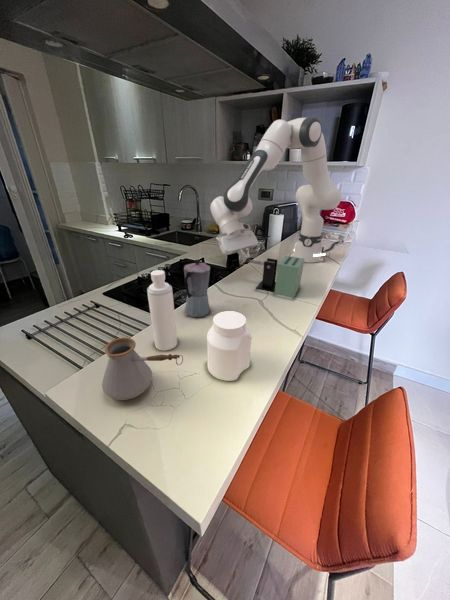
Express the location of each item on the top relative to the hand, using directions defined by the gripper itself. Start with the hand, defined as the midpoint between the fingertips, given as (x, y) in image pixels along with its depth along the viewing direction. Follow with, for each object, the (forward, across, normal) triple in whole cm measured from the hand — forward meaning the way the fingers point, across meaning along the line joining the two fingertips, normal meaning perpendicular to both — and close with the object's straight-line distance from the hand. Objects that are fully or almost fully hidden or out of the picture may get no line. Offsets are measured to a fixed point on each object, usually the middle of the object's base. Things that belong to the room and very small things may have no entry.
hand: (247, 258), depth 112 cm
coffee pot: (+27, -64, -10) cm, 71 cm away
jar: (+32, -43, -15) cm, 56 cm away
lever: (+5, +2, -3) cm, 6 cm away
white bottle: (+18, -51, -1) cm, 54 cm away
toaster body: (+21, +7, -5) cm, 23 cm away
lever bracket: (+15, +4, +1) cm, 16 cm away
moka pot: (+12, -32, +5) cm, 35 cm away
